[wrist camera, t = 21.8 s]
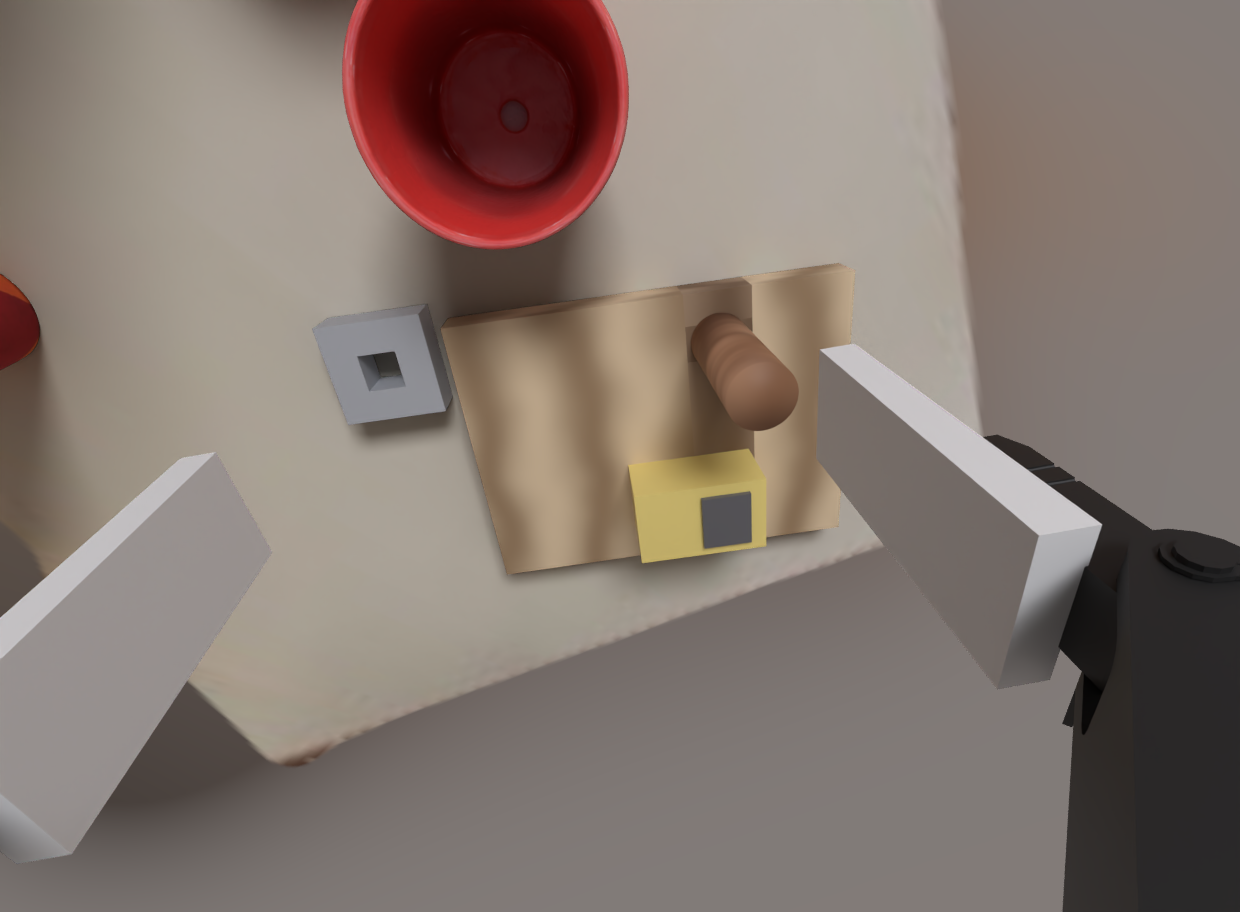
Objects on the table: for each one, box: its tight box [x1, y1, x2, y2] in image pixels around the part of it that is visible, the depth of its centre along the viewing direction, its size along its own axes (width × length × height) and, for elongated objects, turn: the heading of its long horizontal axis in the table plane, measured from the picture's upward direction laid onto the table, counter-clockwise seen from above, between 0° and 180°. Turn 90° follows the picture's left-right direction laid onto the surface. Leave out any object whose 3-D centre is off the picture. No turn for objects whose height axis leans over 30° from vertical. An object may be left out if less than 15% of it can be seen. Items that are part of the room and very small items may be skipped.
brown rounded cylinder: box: [691, 313, 799, 431], centre depth 32 cm, size 3×3×11 cm
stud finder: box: [628, 449, 766, 563], centre depth 38 cm, size 8×5×4 cm, turn 97°
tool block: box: [312, 304, 453, 425], centre depth 35 cm, size 6×6×2 cm
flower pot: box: [342, 0, 629, 250], centre depth 27 cm, size 11×11×10 cm
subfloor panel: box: [440, 263, 855, 574], centre depth 39 cm, size 24×18×2 cm
